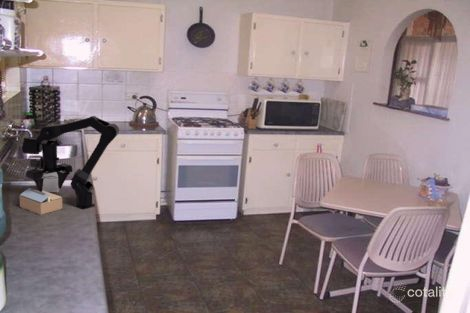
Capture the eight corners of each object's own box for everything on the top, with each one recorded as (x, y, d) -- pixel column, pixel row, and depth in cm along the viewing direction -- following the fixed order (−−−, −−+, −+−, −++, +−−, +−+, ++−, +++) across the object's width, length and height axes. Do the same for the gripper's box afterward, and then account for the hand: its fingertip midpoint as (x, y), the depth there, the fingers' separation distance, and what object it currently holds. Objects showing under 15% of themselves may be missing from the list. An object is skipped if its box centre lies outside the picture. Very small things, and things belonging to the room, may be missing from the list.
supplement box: (41, 192, 204) (41, 166, 201) (44, 188, 211) (43, 162, 208) (58, 192, 206) (58, 166, 203) (60, 187, 213) (60, 162, 210)
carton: (62, 209, 185) (62, 194, 183) (40, 215, 176) (40, 199, 175) (41, 201, 192) (41, 187, 190) (19, 207, 183) (19, 192, 182)
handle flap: (50, 195, 179) (49, 194, 178) (40, 202, 175) (40, 201, 175) (29, 188, 185) (29, 187, 185) (20, 195, 182) (19, 194, 182)
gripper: (56, 148, 197) (57, 182, 200) (17, 154, 181) (18, 190, 184) (73, 153, 191) (73, 187, 194) (33, 159, 175) (34, 196, 179)
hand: (50, 190), depth 188 cm, fingers open, 9 cm apart
